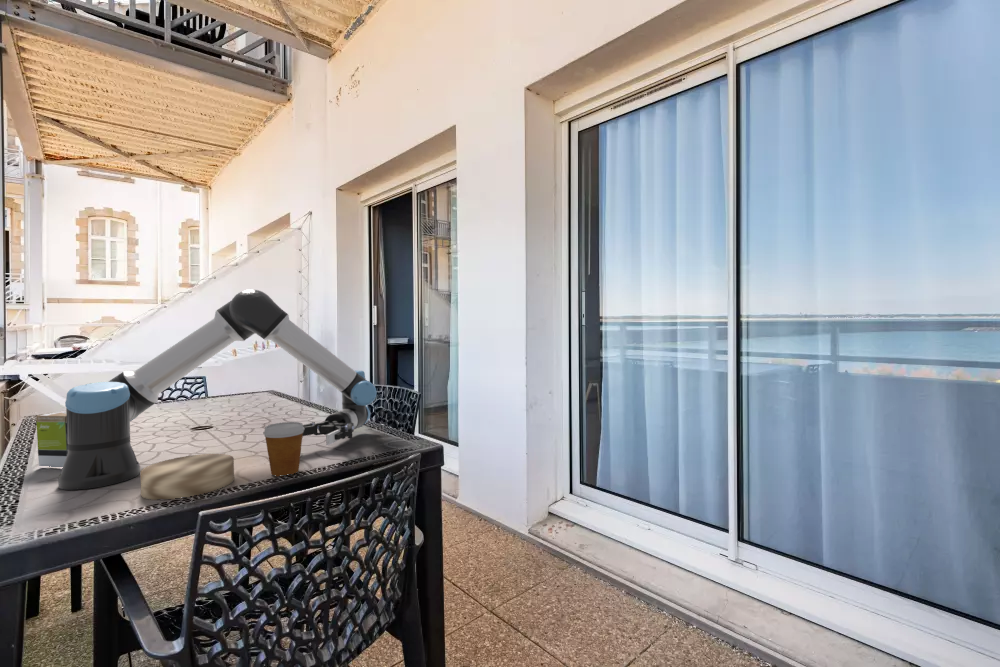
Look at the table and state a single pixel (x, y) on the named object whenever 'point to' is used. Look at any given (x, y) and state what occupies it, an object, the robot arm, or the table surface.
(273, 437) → the disposable coffee cup
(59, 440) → the tea box
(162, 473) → the wooden plinth
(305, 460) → the table surface
